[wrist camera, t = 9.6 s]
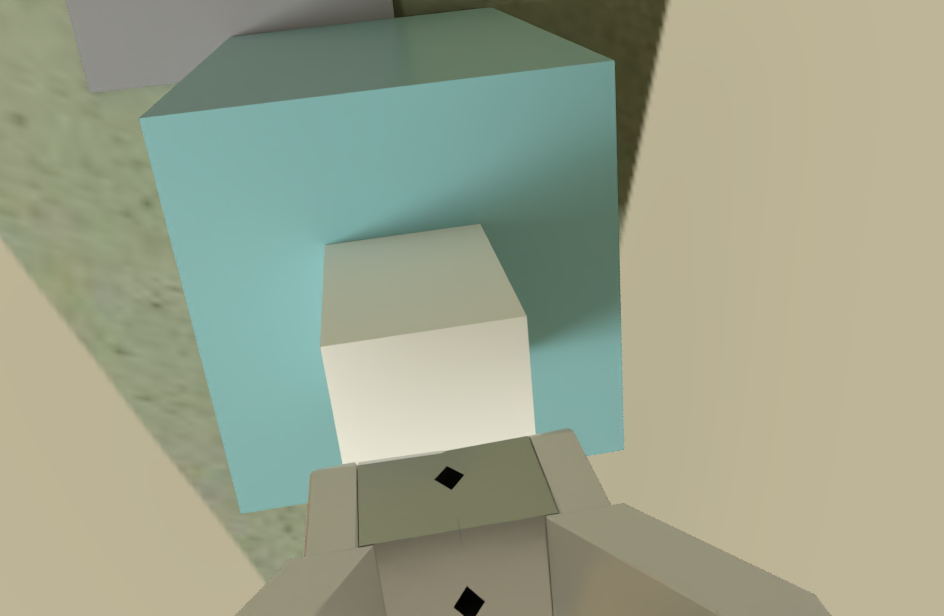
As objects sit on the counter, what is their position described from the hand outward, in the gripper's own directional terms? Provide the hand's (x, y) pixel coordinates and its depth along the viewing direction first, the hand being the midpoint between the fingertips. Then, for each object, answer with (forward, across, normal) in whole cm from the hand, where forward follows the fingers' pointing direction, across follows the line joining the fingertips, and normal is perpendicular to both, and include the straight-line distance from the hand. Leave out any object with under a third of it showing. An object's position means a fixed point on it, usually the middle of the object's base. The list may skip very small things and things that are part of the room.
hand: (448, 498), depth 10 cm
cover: (+21, 0, 0) cm, 21 cm away
